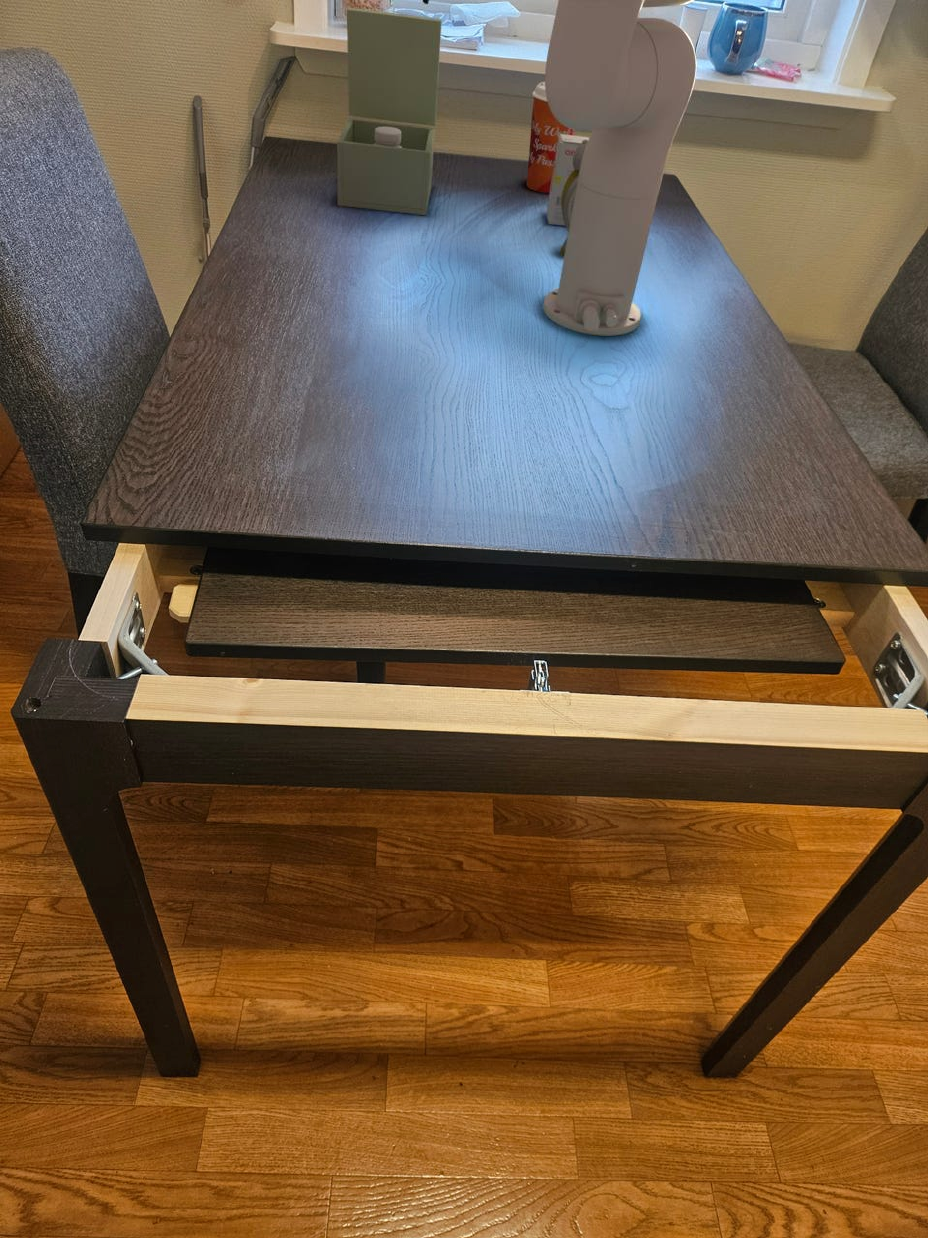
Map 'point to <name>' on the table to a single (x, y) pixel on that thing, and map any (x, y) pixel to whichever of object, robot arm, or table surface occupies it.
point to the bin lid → (393, 66)
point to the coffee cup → (543, 142)
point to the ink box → (561, 175)
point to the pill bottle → (388, 137)
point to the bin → (385, 168)
